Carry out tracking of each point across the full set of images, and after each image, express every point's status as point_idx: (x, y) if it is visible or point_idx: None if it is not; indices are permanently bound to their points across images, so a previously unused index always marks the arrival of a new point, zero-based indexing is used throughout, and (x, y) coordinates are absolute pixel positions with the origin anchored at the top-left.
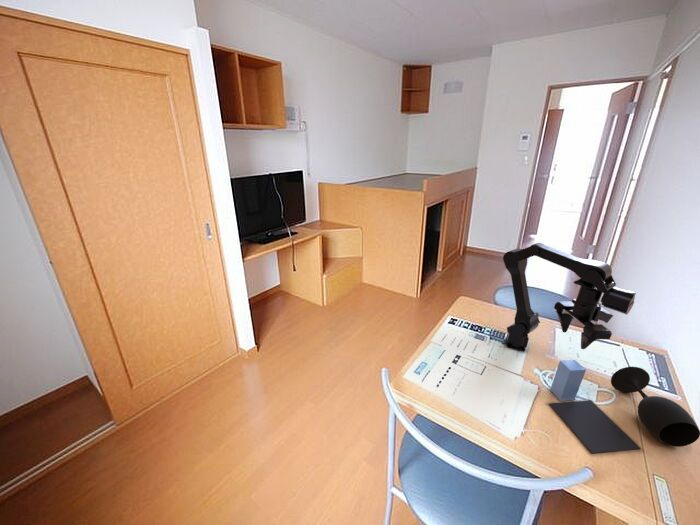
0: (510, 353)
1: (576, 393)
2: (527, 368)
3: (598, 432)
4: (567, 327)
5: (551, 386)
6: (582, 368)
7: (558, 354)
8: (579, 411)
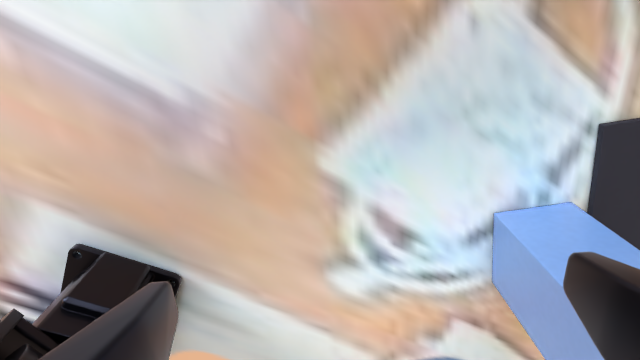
0: (214, 346)
1: (602, 227)
2: (334, 314)
3: None
4: (128, 354)
5: (505, 298)
6: None
7: (164, 68)
8: None
